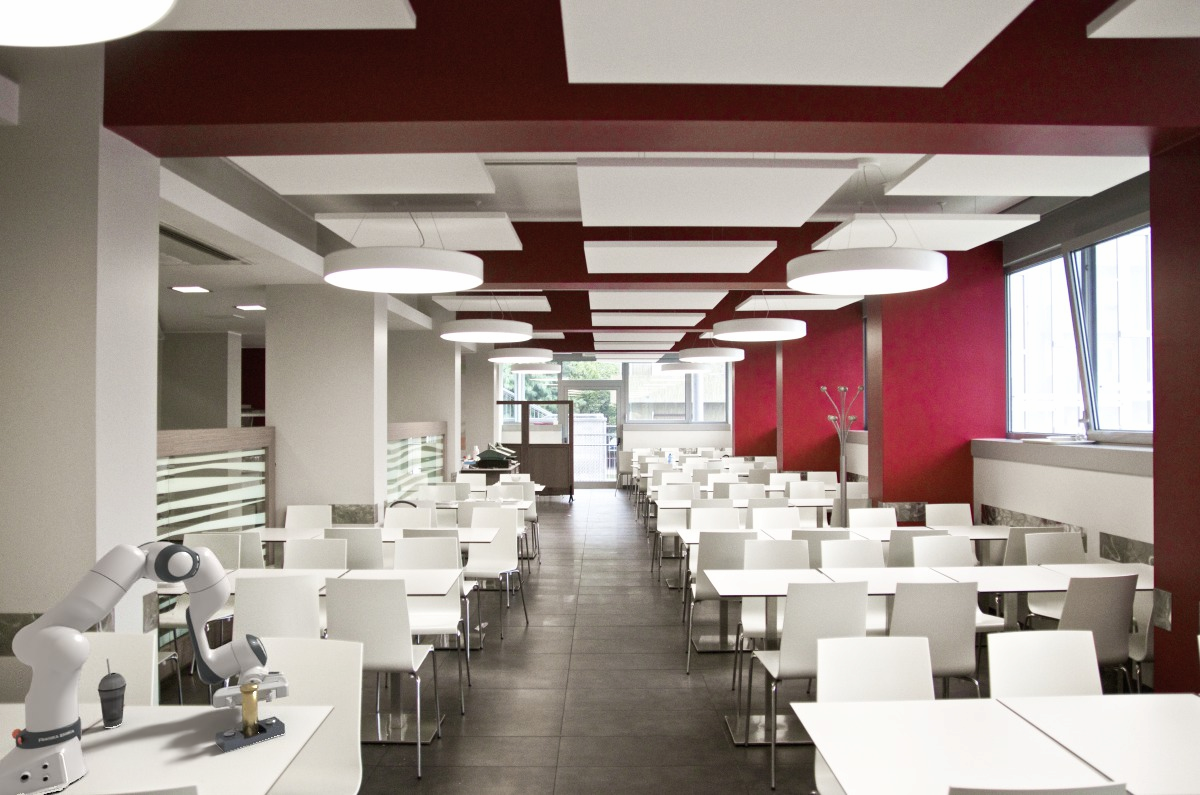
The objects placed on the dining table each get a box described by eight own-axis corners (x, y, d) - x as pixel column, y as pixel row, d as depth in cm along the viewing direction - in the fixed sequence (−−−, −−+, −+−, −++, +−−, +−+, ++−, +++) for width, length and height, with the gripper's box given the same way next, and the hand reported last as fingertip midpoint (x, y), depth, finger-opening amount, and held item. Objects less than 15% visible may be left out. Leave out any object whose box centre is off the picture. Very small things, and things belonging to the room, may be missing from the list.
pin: (244, 744, 213) (242, 689, 213) (238, 739, 217) (237, 685, 217) (262, 739, 216) (260, 685, 217) (256, 734, 220) (255, 681, 220)
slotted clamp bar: (224, 752, 208) (224, 739, 208) (215, 744, 214) (215, 731, 214) (285, 734, 219) (284, 721, 219) (275, 726, 225) (274, 714, 225)
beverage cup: (117, 730, 227) (115, 662, 227) (92, 731, 227) (91, 662, 227) (132, 720, 234) (131, 654, 234) (109, 721, 234) (107, 655, 235)
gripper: (214, 682, 228) (209, 697, 215) (288, 670, 235) (288, 684, 222) (214, 703, 228) (210, 720, 215) (289, 691, 235) (289, 706, 222)
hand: (250, 702), depth 219 cm, fingers open, 8 cm apart
